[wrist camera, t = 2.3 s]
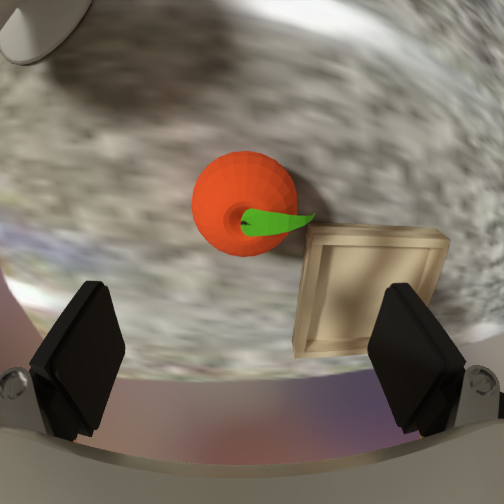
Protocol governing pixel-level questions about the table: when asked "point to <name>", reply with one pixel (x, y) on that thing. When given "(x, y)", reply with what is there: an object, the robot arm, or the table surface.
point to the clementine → (245, 204)
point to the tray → (358, 281)
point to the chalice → (37, 27)
